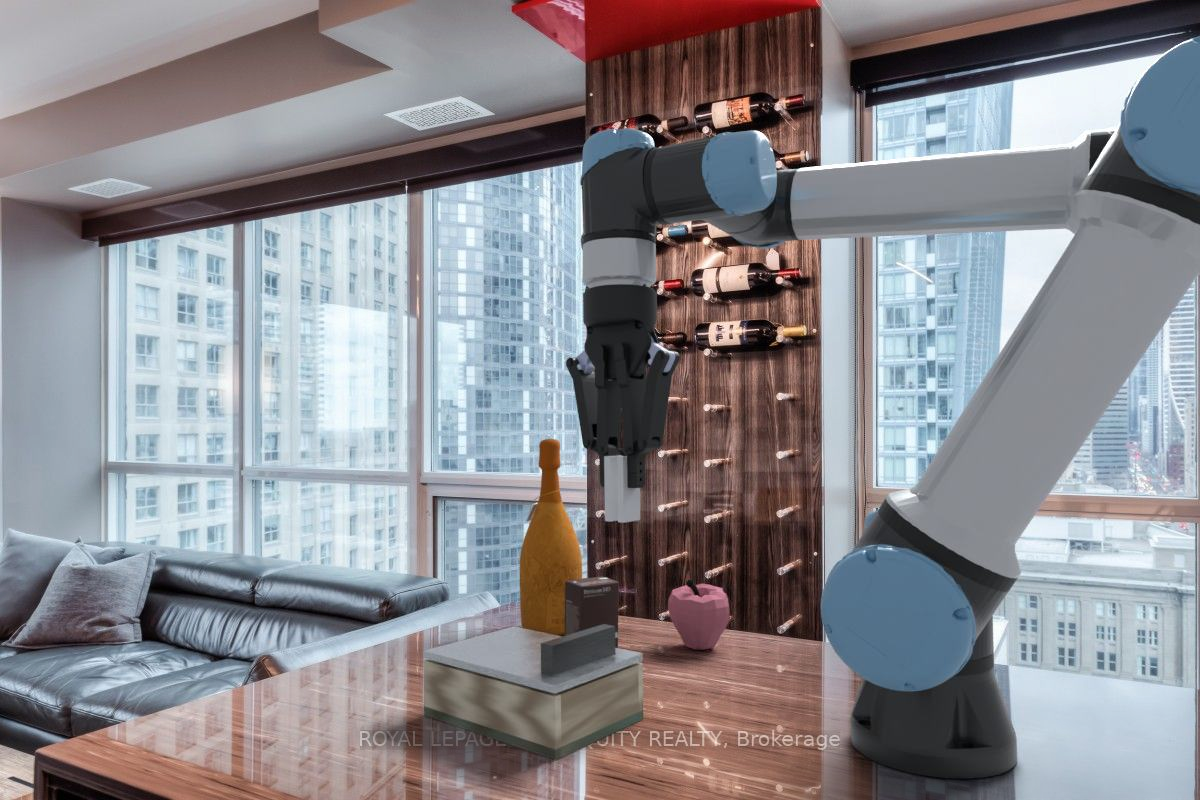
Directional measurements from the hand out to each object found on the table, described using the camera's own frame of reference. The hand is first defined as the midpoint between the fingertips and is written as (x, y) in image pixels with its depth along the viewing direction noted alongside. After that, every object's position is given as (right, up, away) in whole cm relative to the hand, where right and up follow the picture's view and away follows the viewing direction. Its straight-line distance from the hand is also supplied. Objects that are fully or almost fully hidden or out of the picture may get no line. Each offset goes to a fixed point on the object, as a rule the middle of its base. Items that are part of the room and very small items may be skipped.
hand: (622, 520), depth 83 cm
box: (-3, -23, +23) cm, 33 cm away
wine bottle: (-10, -24, +46) cm, 53 cm away
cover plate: (-10, -17, +8) cm, 21 cm away
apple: (+12, -24, +35) cm, 44 cm away
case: (-10, -23, +8) cm, 26 cm away
